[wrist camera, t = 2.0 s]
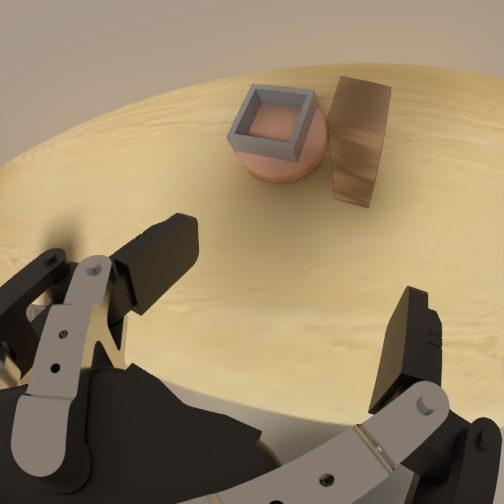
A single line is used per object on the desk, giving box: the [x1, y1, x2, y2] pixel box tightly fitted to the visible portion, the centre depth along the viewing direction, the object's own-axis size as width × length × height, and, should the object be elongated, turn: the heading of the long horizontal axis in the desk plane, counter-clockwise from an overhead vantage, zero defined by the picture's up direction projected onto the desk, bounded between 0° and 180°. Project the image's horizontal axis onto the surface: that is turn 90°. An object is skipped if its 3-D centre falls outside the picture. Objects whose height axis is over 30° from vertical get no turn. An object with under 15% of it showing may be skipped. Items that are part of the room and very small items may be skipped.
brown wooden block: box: [327, 76, 391, 208], centre depth 22 cm, size 4×4×13 cm
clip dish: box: [227, 84, 328, 183], centre depth 29 cm, size 10×10×6 cm
